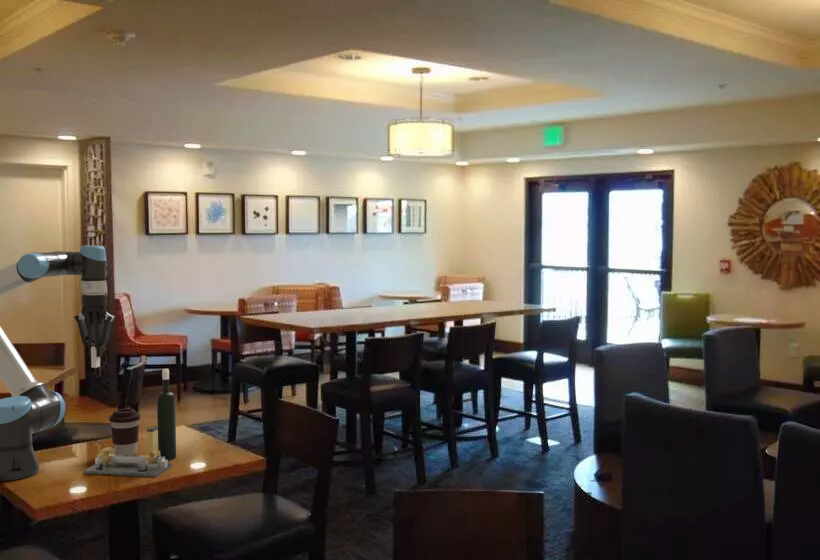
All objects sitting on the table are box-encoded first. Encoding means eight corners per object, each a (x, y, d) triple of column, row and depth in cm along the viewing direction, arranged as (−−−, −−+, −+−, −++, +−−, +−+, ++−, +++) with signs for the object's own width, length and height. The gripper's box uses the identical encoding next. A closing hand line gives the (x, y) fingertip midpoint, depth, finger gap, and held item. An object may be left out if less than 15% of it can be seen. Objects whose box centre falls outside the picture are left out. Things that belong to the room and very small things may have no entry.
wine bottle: (164, 461, 265) (162, 371, 263) (154, 457, 269) (153, 369, 267) (179, 457, 269) (177, 368, 267) (169, 454, 273) (168, 366, 271)
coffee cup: (131, 458, 267) (129, 414, 266) (104, 457, 269) (103, 413, 268) (146, 450, 277) (145, 408, 276) (120, 449, 279) (119, 406, 278)
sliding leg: (140, 469, 251) (139, 432, 250) (151, 462, 258) (150, 426, 257) (149, 470, 250) (148, 432, 249) (160, 463, 258) (159, 426, 257)
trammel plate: (83, 473, 251) (83, 454, 251) (102, 463, 262) (101, 445, 262) (156, 477, 248) (155, 458, 247) (171, 466, 259) (171, 448, 258)
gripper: (68, 294, 253) (70, 368, 255) (107, 295, 251) (108, 369, 253) (81, 292, 261) (83, 364, 262) (119, 293, 259) (120, 365, 260)
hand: (95, 366), depth 258 cm, fingers closed
